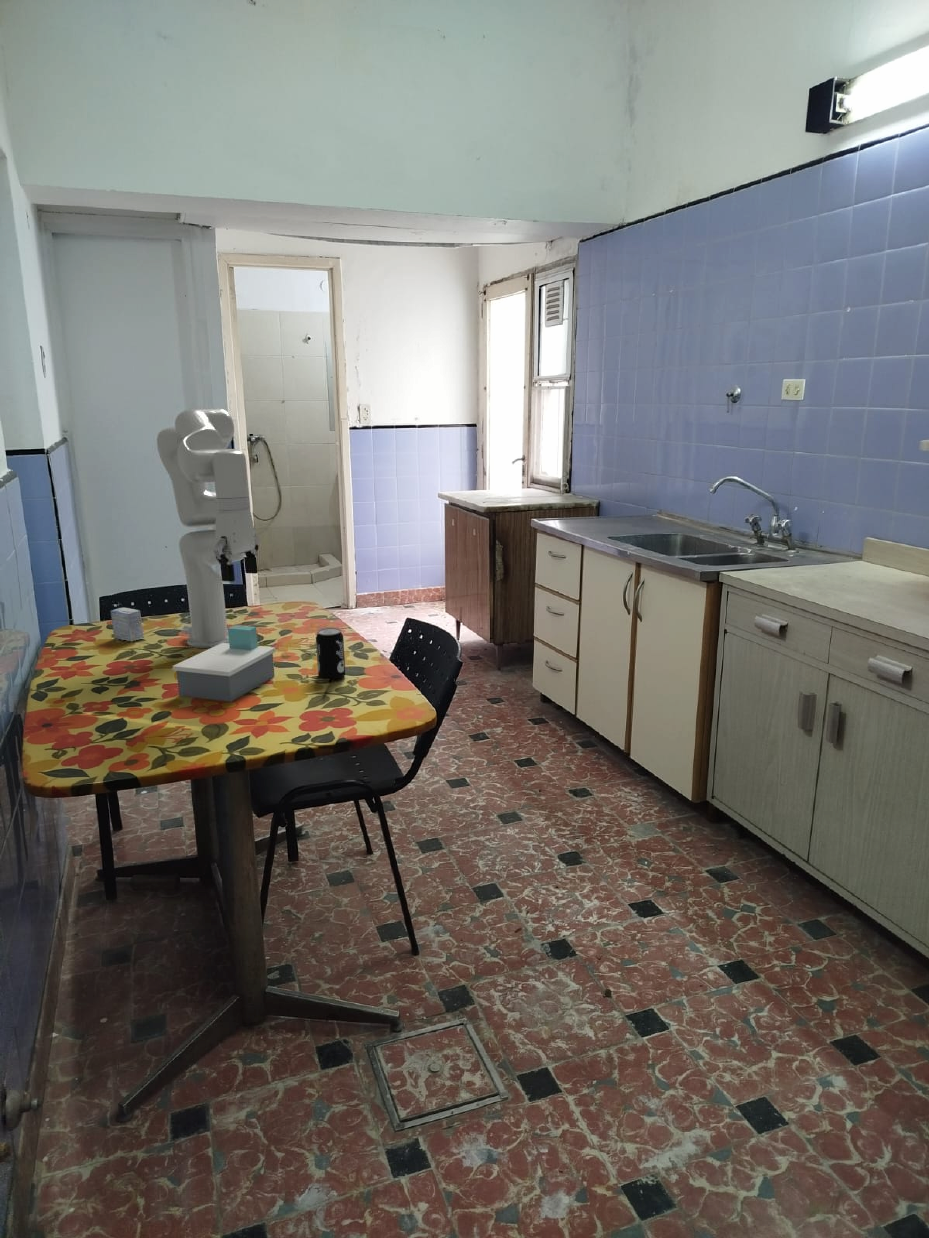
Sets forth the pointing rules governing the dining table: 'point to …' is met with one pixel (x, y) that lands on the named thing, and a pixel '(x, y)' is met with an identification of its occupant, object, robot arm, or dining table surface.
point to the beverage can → (330, 654)
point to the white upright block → (127, 624)
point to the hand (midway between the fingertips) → (240, 577)
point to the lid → (228, 654)
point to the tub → (225, 682)
